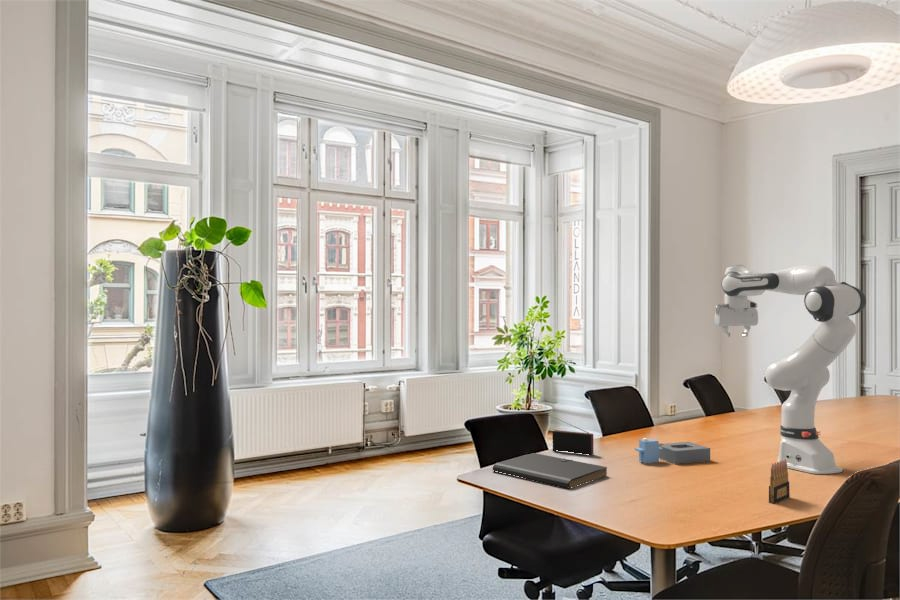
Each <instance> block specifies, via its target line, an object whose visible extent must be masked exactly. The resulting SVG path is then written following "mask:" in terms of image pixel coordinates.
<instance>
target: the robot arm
mask: <svg viewBox="0 0 900 600" xmlns="http://www.w3.org/2000/svg"><path fill="white" fill-rule="evenodd" d="M720 283H721V288H722V290H723V293H725V294H724V304H722V303H719V304H717V305H716V307H715V312H714V313H715V314H714V323H713V324H714V325H715V326H716V327H721V330H722V332H723V333H724V334H723V335H724V337H725V338H731V332H729V331H728V329H729V327H741V326H743V328H744V330H743V332H741V333H742V335H741V336H742V337H749V332H750V330H751V326H757V325H758V323H759V314H758V313H759V311H758V309H757V308H758V303H757V302H755V301H752V300H750V299H748V296H749V297H751V296H752V297H753V296H760V295H763V293H764V292H765V291H768V292H776V293H781V294H789V295H796V296H804V298H803V299H804V300H803V303H804V306H805V309H806V310H807V312H808V314H810V315H811V316H812V317H813V319H814V320H815V321H817V322H819V323H820V325H819V326H818V328H816V329H815V330H814V332H813V333H812V334H811V336H809V337H808V339H807V340H806V341H805V342H804V343H803V344H802V345H801V346H799V347H798V348H796V349H795V350H794V351H793V352H791V353H789V354H788V355H786V356H785V357H784V358H782V359H780V360H778V361H776V362H774V363H771V364H770V365H768V366H767V368H766V369H765V377H764V378H765V380H766V383H767V384H768V386H769V387H770V388H771V389H775V390H779V391H785V392H786V391H790V394H789V395H788V398H787V399H786V400H785V401H784V402H783V403H782V405H781V409H780V410H781V425H780V428H779V431H780V435H781V436H780V437H781V439H780V442H779V443H780V444H779V451H778V457H777V460H776V463H777V462H780V461H781V462H782V460H783V461H784V460H785V459H786V462H787V469H791V470H796V471H800V472H804V473H809V474H814V475H815V474H816V475H827V474H829V475H830V474H832V475H833V474H838V473H842V472H843V471H844V470H843V468H842V467H840V466H837V465H836V461H835V460H836V459H835V456H834V453H833V451H831V450H830V449H829V448H828V447H827V446H826V445H825V444H824V443H823V441H821V440H820V439H819V438H820V437H819V436H820V435H821V431H817V429H816V427H815V417H816V415H815V413H816V412H815V411H816V404H817V400H818V397H819V395H820V393H821V391H822V390H823V389H824V388H825V386H826V385H827V384H828V383H829V381H830V377H831V375H830V370H829V368H828V367H829V366H831V365H832V363H833V362H834V361H835V360H836V359H837V357H839V355H841V353H842V352H844V350H846V348H847V347H848V346H849V345H850V343H851V341H852V340H853V338H854V336H855V335H856V332H857V326H856V323H855V322H854V321H853V320H852V319H850V316H854V315H857V314H859V313H861V312H862V311H863V310H864V309H865V307H866V304H867V297H866V294H865V293H864V291H862V290H861V289H859V288H858V287H856V286H853V285H851V284H849V283H847V282H846V281H842V282H838V281H837V280H836V275H835V273H834V271H833V270H832V269H831V268H830V267H828V266H825V265H816V264H806V265H804V264H803V265H797V266H792V267H788V268H784V269H779V270H778V269H777V270H773V271H769V272H765V273H761V272H756V271H753V270H750V269H749V268H747V266H745V265H743V264H735V265H730V266H728V267H727V268H726V269H725V272H724V276H723V277H722V280H721V282H720Z"/></svg>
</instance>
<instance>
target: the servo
mask: <svg viewBox="0 0 900 600" xmlns="http://www.w3.org/2000/svg"><path fill="white" fill-rule="evenodd" d="M659 441H660V440H657V439H653V438H647V437H643V438H642V439H638V447H634V451H637V452H638V461H639V462H640V461H641V462H640V463H642V462H644V463H643V464H645V463H648V464H654V463H653V462H659V463H660V459H659V450H663V448H661V447H659V446H661V445H663V444H664V443H663V442H662V443H659Z"/></svg>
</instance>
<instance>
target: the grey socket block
mask: <svg viewBox="0 0 900 600" xmlns="http://www.w3.org/2000/svg"><path fill="white" fill-rule="evenodd" d="M662 444H663V445H661V446H659V447H661V448H663V450H659V458H660V459H659V460H662V459H663V461H665V460H666V461H665V462H667V461H669V462H668V463H670V462H671V464H673V463H674V464H673V465H679V464H678V463H684V464H693V463H692V462H695V463H704V462H705V461H707V462H711V448H710V447H708V446H704V445H700V444H699V443H694V442H691V441H681V442H668V443H666V442H665V443H662Z"/></svg>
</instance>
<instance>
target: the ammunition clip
mask: <svg viewBox="0 0 900 600" xmlns="http://www.w3.org/2000/svg"><path fill="white" fill-rule="evenodd" d="M788 469H789V468H787V462H786V459H785V460H784V461H783V460H782V462H781V461H780V462H777V461H776V462H774V463H772V464H771V466H770V476H769V486H768V504H772V505H776V504H779V503H781V502H783V501H785V500H787V499H790V495H791V494H790V481H789V471H788Z"/></svg>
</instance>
